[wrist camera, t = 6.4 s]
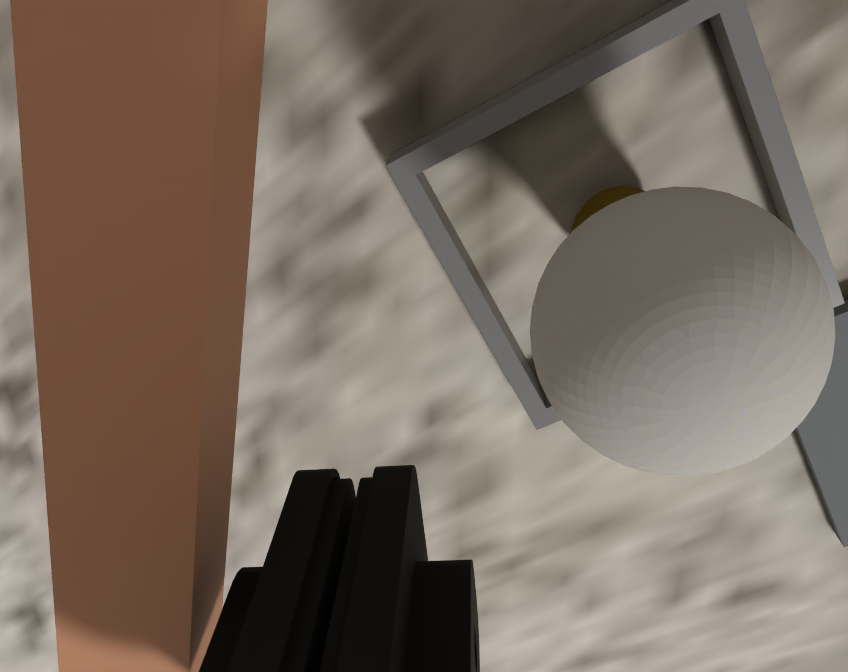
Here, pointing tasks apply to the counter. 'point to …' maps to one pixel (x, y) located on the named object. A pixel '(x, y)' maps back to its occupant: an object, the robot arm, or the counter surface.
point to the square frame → (686, 10)
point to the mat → (831, 432)
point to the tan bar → (138, 307)
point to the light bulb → (681, 329)
